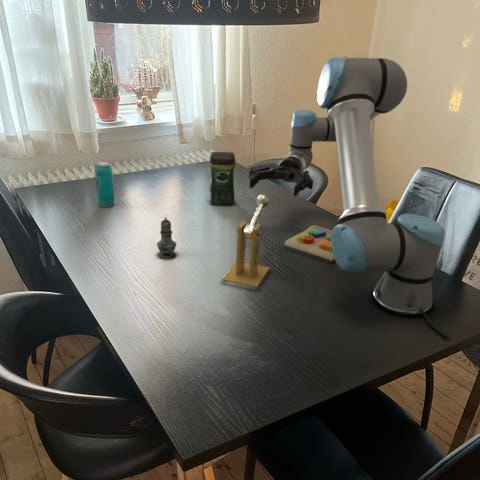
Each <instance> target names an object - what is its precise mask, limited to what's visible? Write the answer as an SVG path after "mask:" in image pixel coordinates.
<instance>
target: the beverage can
mask: <svg viewBox="0 0 480 480" xmlns="http://www.w3.org/2000/svg"><path fill="white" fill-rule="evenodd" d="M94 177H95V185H96V192H97V201H98V203H99V205H100V206H101V207H105V208H109V207H112V206H114V203H115V189H114V179H113V169H112V165H111V162H110V161H106V160H99V161H96V162H94Z"/></svg>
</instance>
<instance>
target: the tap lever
mask: <svg viewBox="0 0 480 480" xmlns="http://www.w3.org/2000/svg"><path fill="white" fill-rule="evenodd" d="M256 204H257V207H256V210H255V212H254V214H253V216H252V218H251V221H250V223H249V224H247V225H246V227H245V229H244V231H243V233H244V238H246V239H249V240H252V230H253V228H254V227H255V226H256V225H257V221H258V219H259V218H260V215H261V213H262V211H263V209H264V208H266V207H268V206H269V204H270V197H269V196H268V195H267V194H263V193H262V194H260V195H258V196H257V198H256Z"/></svg>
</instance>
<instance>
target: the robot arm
mask: <svg viewBox="0 0 480 480" xmlns="http://www.w3.org/2000/svg"><path fill="white" fill-rule="evenodd" d="M407 89H408V79H407V75H406V73H405V71H404V69H403V67H402V66H401V65H400V64H399V63H398V62H395V61H394V60H392V59H389V58H385V57H379V58H378V57H377V58H375V57H370V58H369V57H347V56H339V57H335V56H334V57H330V58H329V59H328V60H327V61H326V62H325V64H324V66H323V67H322V70H321V73H320V75H319V80H318V84H317V95H316V98H317V99H316V102H317V105H318V107H319V108H321V109H323V110H325V109H326V113H327V117H326V116H325V117H323V116H322V117H320V116H319V117H317V113H316V112H315V111H314V110H310V109H297V110H295V111H294V112H293V114H292V119H291V124H290V139H289V146H288V154H287V155H286V156H285V157H284V158H283V159H282V160H281V161H280V162H279V164H278V165H277V166H276V167H272V165H271V164H267V165H265V166H262V167H257V168H254V169H249V171H248V180H249V189H253V188H254V187H256V185H257V184H258V183H259V182H260V181H265V180H270V179H271V180H272V179H273V180H274V181H275V180H282V181H284V182H287V183H294V184H295V185H294V188H293V196H294V197H297V196H298V194H299V193H300V192H302V191H304V190H306V189H308V190H312V189H313V186H314V180H313V178H312V177H311V175H310V172H309V170H306V169H308V168H309V166H310V165H311V164H312V161H313V158H314V156H313V152H312V149H313V143H314V142H317V143H318V142H327V143H328V142H330V143H331V142H335V143H336V155H337V163H338V172H339V173H338V174H339V184H340V192H341V202H342V214H341V215H340V217H339V218H338V219H337V225H335V226H334V227H333V229H332V235H331V236H332V239H331V247H332V252H333V256H334V261H335V263H336V264H337V266H338V267H339V269H341V270H342V271H343V272H347V273H360V274H361V273H364V272H384V273H383V275H382V276H381V277H380V279H379V280H378V282H377V284H376V285H375V287H374V289H373V291H372V299H373V302H374V303H375V304H376V305H377V306H378V307H379V308H380V309H382V310H384V311H386V312H389V313H391V314H393V315H398V316H403V317H420V316H423V317H424V318H425V319H426V321H427V322H428V323H429V326H431V327H432V328H433V330H434V331H436V332H437V333H438V334H440V335H441V336H442V337H443V338H445V339H447V338H448V334H446V333H445V332H443V330H441V329H439V328H438V327H437V326H436V325H435V323H433V321H432V320H431V318H430V317H429V316H428V313H429V312H430V311H431V308H432V306H433V299H434V298H433V288H432V287H433V286H432V279H433V277H434V274H435V270H436V266H437V263H438V261H439V257H440V254H441V251H442V247H444V239H445V236H446V231H445V228H444V227H443V225H442V224H440V223H439V222H437V221H436V220H434V219H432V218H429V217H427V216H424V215H420V214H415V213H402V214H399V216H398V217H397V219H396V222H388V221H387V213H386V212H385V211H384V210H383V209H381V208H380V207H379V198H378V197H379V195H378V187H377V179H376V167H375V158H374V150H373V140H372V131H371V121H373V120H374V119H375V118H376V117H378V116H380V115H382V114H387V113H390V112H392V111H393V110H394V109H396V108H397V107H398V106H400V104H401V103H402V102H403V100H404V99H405V97H406V94H407Z"/></svg>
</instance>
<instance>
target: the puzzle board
mask: <svg viewBox="0 0 480 480" xmlns="http://www.w3.org/2000/svg"><path fill="white" fill-rule="evenodd" d="M332 231H333V229H328V228H325V227H321V226H318V225H311V226H309V227H308V228H307V229H306V230H304V231H302V232H300V233H297V234H295V235H293V236H292V237H290V238H288V239H286V240H285V241H284V243H283V245H284V246H287V247H290V248H293V249H296V250H299V251H302V252H305V253H308V254H312V255H314V256H316V257H317V256H318V257H321V258H324V259H325V260H329V261H328V263H332V262H334V261H335V259H334V256H333V252H332V247H331V239H332V236H331V235H332Z"/></svg>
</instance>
